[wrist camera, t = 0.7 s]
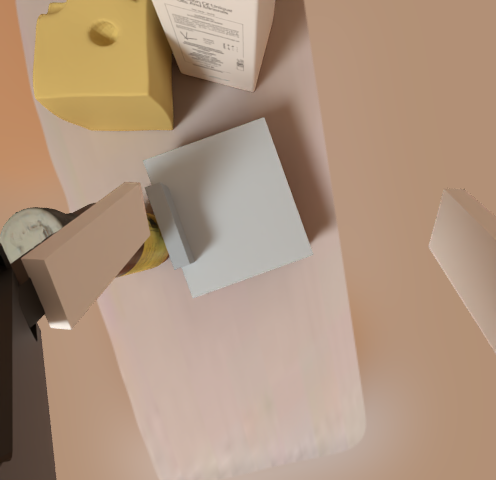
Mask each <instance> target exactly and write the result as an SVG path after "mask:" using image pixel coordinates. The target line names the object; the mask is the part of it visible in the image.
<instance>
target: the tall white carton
mask: <svg viewBox="0 0 496 480" xmlns="http://www.w3.org/2000/svg"><path fill="white" fill-rule="evenodd" d="M275 1H276V0H152V2H153V5H154V7H155V10H156V12H157V15H158V17H159V20H160V22H161V25H162V27H163V30H164V32H165V35H166V37H167V40H168V42H169V45H170V47H171V50H172V52H173V55H174V57H175V60H176V62H177V65H178V67H179V70H180V72H181V73H182V74H186V75H190V76H194V77H197V78H201V79H205V80H208V81H212V82H216V83H220V84H223V85H227V86H231V87H235V88H238V89H242V90H246V91H250V92H254V91H255V87H256V83H257V80H258V76H259V72H260V68H261V64H262V61H263V57H264V53H265V49H266V45H267V42H268V38H269V34H270V30H271V27H272V23H273V17H274V9H275Z"/></svg>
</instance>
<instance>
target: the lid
mask: <svg viewBox="0 0 496 480" xmlns="http://www.w3.org/2000/svg"><path fill="white" fill-rule="evenodd" d="M143 162H144V165H145V168H146V170H147V173H148V176H149V179H150V181H151V184H152V185H151V186H148V187H145V190H146V192H147V195H148V198H149V201H150V203H151V206H152V209H153V212H154V215H155V217H156V220H157V223H158V226H159V228H160V231H161V234H162V237H163V239H164V242H165V245H166V248H167V251H168V253H169V256H170V259H171V262H172V264H173V267H174V270H176V269H178V268H181V267H182V270H183V273H184V276H185V278H186V281H187V284H188V287H189V289H190V292H191V295H192V298H195V297H198V296H201V295H204V294H207V293H209V292H212V291H215V290H218V289H220V288H223V287H226V286H229V285H232V284H234V283H237V282H240V281H243V280H245V279H248V278H251V277H254V276H257V275H259V274H262V273H265V272H268V271H271V270H273V269H276V268H279V267H282V266H284V265H287V264H290V263H293V262H296V261H298V260H301V259H304V258H307V257H309V256H312V255H313V252H312V249H311V246H310V244H309V241H308V238H307V235H306V232H305V230H304V227H303V224H302V221H301V218H300V216H299V213H298V210H297V207H296V204H295V202H294V199H293V196H292V193H291V190H290V188H289V185H288V182H287V179H286V176H285V174H284V171H283V168H282V165H281V162H280V160H279V157H278V154H277V151H276V149H275V146H274V143H273V140H272V137H271V135H270V132H269V129H268V126H267V123H266V121H265V118H264V117H263V118H260V119H257V120H255V121H252V122H249V123H246V124H243V125H241V126H238V127H235V128H232V129H229V130H227V131H224V132H221V133H218V134H216V135H213V136H210V137H207V138H204V139H202V140H199V141H196V142H193V143H190V144H188V145H185V146H182V147H179V148H177V149H174V150H171V151H168V152H165V153H163V154H160V155H157V156H154V157H151V158H149V159H146V160H143Z"/></svg>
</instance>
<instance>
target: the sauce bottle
mask: <svg viewBox="0 0 496 480" xmlns="http://www.w3.org/2000/svg"><path fill="white" fill-rule="evenodd" d="M94 204H96V203H92V204H89V205H87V206H85V207H83V208H81V209H79V210H77V211H75V212H73V213H69V214H65V213H62V212H60V211H57V210H55V209H49V208H38V207H35V208H27V209H24V210H21V211H19V212H16V213H15V214H14V215H13V216H12V217H11V218H10V219H9V220H8V221H7V222H6V224H5V225H4V226H3V229H2V232H1V234H0V243H1V245H2V246H3V249H4V251H5V253H6V255H7V257H8V260H9V262H10V264H11V263H12V262H14V261H15V260H16V259H18V258H19V257H21V256H22V255H23V254H25V253H26V252H27V251H29V250H30V249H33V248H34V246H36V245H37V244H39V243H41V241H43V240H44V239H45V238H47V237H48V236H50V235H51V234H53V233H55V232H57V231H59V230H60V229H62V228H63V227H64V226H66V225H67V224H68V223H70V222H71V221H73V220H74V219H75V218H77V217H78V216H79V215H81V214H82V213H83V212H85V211H86V210H88V209H89V208H90V207H92V206H93V205H94ZM146 215H147V220H148V225H149V230H150V236H149V237H148V239H147V240H146V241H145V242H144V243H143V245H142V246H141V247H140V248H139V249H138V251H137V252H136V253H135V254H134V255H133V257H132V258H131V259H130V260H129V261H128V263H127V264H126V265H125V266H124V267H123V269H122V270H121V271H120V272H119V273H118V275H117V276H116V277H120V276H124V275H128V274H132V273H136V272H140V271H144V270H148V269H151V268H154V267H157V266H159V265H160V264H161V263H163V262H165V261H166V260H167V259H168V257H169V253H168V251H167V248H166V245H165V242H164V239H163V237H162V234H161V231H160V228H159V226H158V223H157V220H156V217H155V215H153V214H150V213H146ZM116 277H115V278H116Z"/></svg>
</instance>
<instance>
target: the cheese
mask: <svg viewBox="0 0 496 480" xmlns="http://www.w3.org/2000/svg"><path fill="white" fill-rule="evenodd" d="M171 67H172V50H171V47H170V45H169V42H168V40H167V37H166V35H165V32H164V30H163V27H162V25H161V22H160V20H159V17H158V15H157V12H156V10H155V7H154V5H153V2H152V0H67V2H65V3H50V4H49V9H48V13H47V14H41V15H40V16H39V17H38V19H37V25H36V41H35V54H34V66H33V87H34V94H35V98H36V99H37V100H38V101H39V102H40V103H41V104H42V105H43V106H44V107H45V108H47V109H48V110H49V111H50V112H52V113H53V114H54V115H56V116H57V117H59V118H61V119H63V120H65V121H68V122H70V123H73V124H76V125H79V126H82V127H84V128H87V129H89V130H103V131H137V130H173V97H172V71H171Z"/></svg>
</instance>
